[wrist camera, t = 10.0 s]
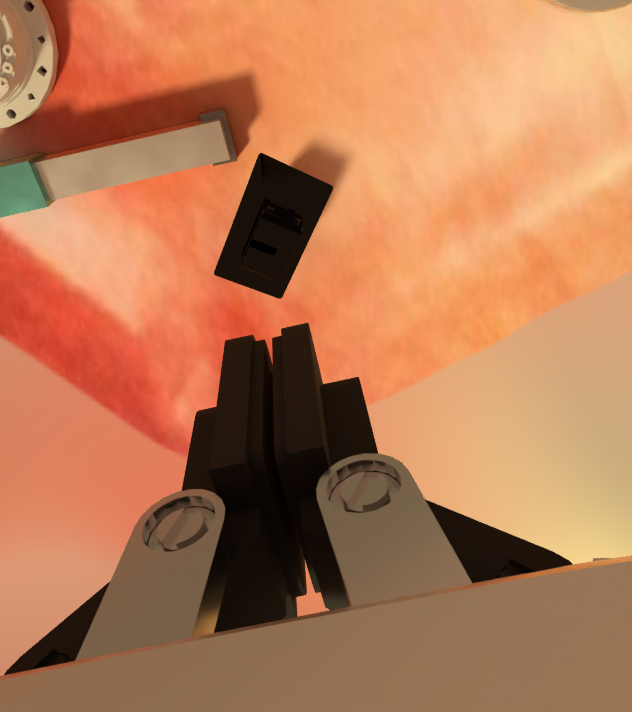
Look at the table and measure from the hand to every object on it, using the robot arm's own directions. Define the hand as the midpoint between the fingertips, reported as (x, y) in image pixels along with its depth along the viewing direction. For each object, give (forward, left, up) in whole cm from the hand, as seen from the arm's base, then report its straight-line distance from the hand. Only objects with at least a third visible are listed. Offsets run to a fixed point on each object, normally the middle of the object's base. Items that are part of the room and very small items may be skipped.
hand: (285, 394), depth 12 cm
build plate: (+2, +7, -33) cm, 34 cm away
